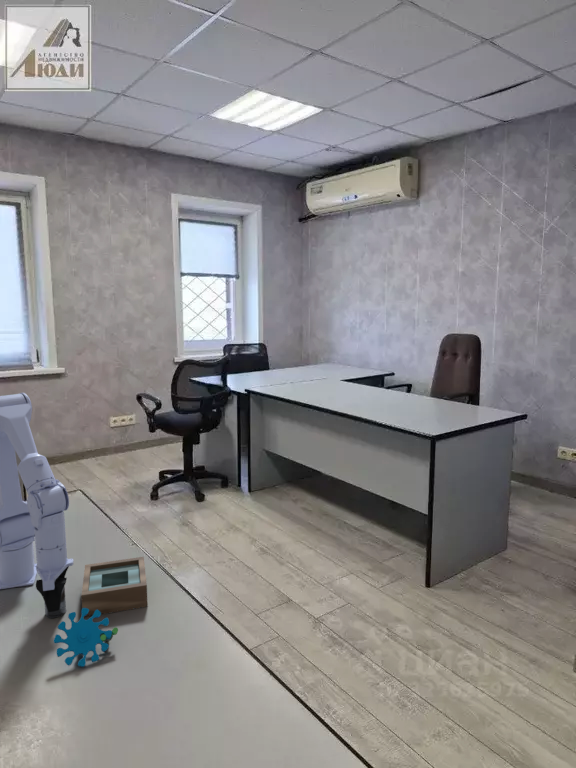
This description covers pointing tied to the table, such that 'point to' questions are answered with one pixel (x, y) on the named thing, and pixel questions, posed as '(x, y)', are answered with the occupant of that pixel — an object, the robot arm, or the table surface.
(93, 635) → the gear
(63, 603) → the peg
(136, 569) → the bore box
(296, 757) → the table surface
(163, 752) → the table surface
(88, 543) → the table surface
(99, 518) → the table surface
